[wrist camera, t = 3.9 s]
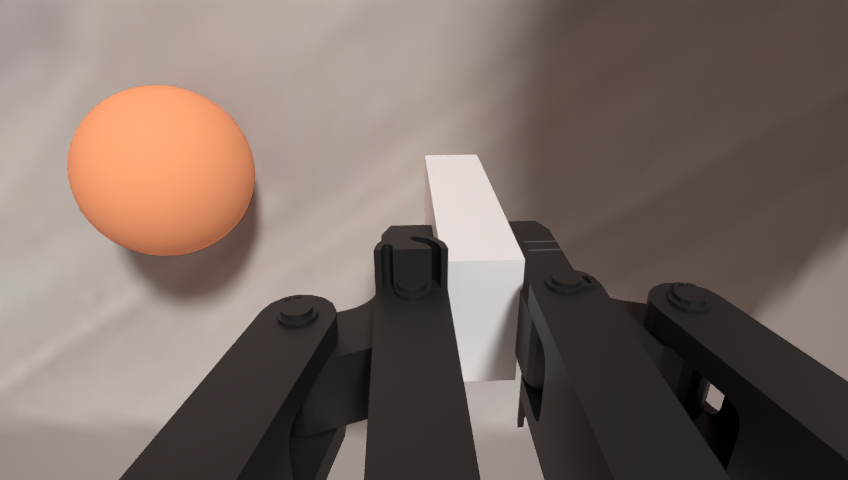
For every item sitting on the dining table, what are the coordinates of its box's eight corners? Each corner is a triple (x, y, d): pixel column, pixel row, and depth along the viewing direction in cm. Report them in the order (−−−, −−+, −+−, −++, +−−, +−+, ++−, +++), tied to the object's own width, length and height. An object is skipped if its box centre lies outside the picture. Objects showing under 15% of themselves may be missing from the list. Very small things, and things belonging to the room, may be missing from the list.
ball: (260, 71, 19) (210, 104, 14) (279, 214, 22) (242, 285, 17) (101, 72, 19) (-3, 106, 14) (138, 216, 22) (59, 289, 17)
